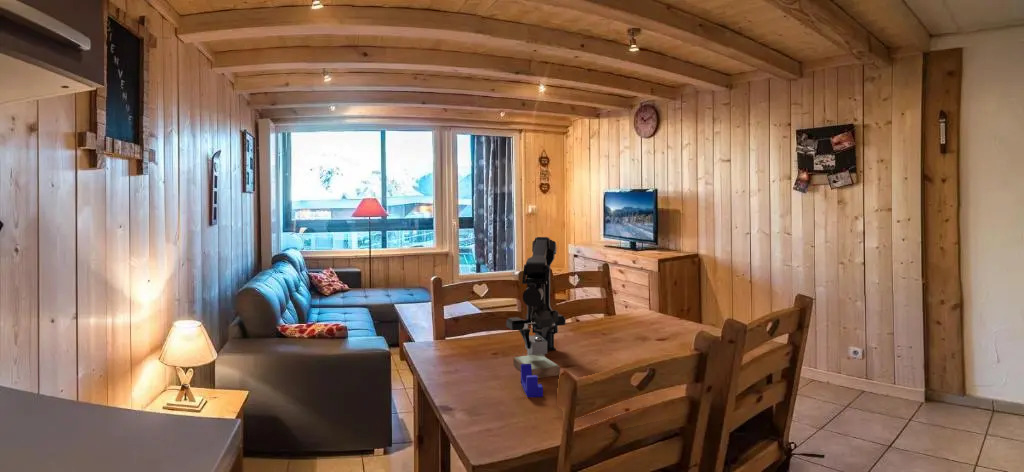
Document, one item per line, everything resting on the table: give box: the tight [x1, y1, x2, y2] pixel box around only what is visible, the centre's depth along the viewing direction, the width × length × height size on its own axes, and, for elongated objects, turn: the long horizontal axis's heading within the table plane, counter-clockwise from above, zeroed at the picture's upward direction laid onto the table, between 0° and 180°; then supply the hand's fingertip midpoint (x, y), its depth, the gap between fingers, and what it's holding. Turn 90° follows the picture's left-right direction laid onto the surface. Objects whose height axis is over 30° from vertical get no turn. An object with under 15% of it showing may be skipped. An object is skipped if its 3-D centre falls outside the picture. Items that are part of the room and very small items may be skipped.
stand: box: [513, 354, 561, 379], centre depth 173 cm, size 10×14×3 cm
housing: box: [524, 334, 548, 355], centre depth 172 cm, size 5×8×5 cm, turn 15°
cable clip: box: [520, 364, 544, 398], centre depth 155 cm, size 12×4×6 cm, turn 7°
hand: (536, 347), depth 172 cm, fingers closed on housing, 5 cm apart
